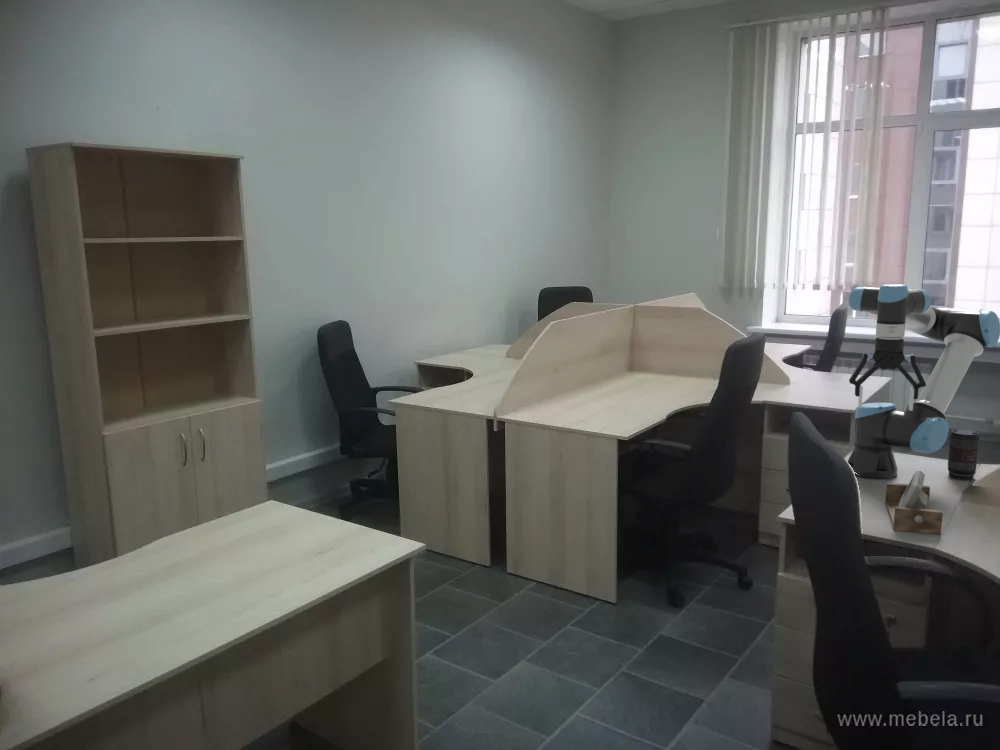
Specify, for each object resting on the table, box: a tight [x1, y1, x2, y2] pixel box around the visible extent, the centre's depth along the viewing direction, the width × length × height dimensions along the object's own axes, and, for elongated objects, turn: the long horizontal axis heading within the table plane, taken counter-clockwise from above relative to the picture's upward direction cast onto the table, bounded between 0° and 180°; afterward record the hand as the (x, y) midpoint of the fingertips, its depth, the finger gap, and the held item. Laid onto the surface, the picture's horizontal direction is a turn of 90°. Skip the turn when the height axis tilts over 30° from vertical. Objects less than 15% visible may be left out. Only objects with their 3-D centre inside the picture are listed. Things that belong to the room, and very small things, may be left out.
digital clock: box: [898, 470, 928, 509], centre depth 212 cm, size 16×9×11 cm, turn 137°
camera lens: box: [947, 428, 980, 481], centre depth 245 cm, size 8×8×15 cm
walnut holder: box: [884, 482, 944, 536], centre depth 212 cm, size 11×24×6 cm, turn 159°
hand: (884, 408), depth 228 cm, fingers open, 13 cm apart
